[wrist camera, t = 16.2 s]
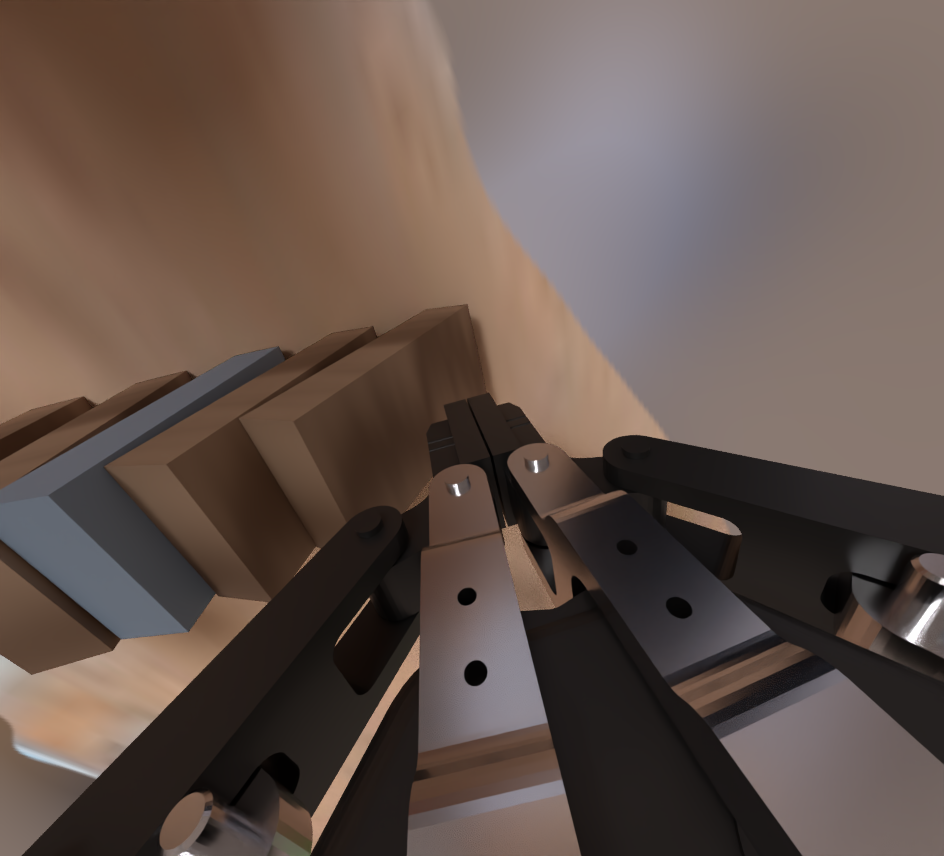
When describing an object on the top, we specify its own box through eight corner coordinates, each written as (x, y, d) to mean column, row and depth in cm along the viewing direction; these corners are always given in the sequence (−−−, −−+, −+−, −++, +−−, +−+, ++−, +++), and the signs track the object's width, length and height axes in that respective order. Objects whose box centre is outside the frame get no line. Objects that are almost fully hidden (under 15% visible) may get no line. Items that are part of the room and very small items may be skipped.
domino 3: (331, 333, 17) (102, 466, 9) (372, 326, 16) (165, 464, 8) (369, 425, 19) (218, 596, 11) (406, 422, 19) (274, 603, 11)
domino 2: (234, 355, 17) (-36, 510, 8) (278, 346, 16) (47, 495, 8) (285, 446, 19) (120, 639, 10) (324, 439, 19) (188, 632, 10)
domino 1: (136, 383, 16) (-159, 551, 8) (186, 370, 16) (-48, 521, 8) (200, 471, 19) (31, 674, 10) (242, 459, 19) (113, 650, 10)
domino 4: (426, 309, 17) (238, 418, 10) (467, 304, 16) (293, 421, 9) (451, 403, 20) (316, 547, 12) (488, 403, 19) (366, 560, 11)
